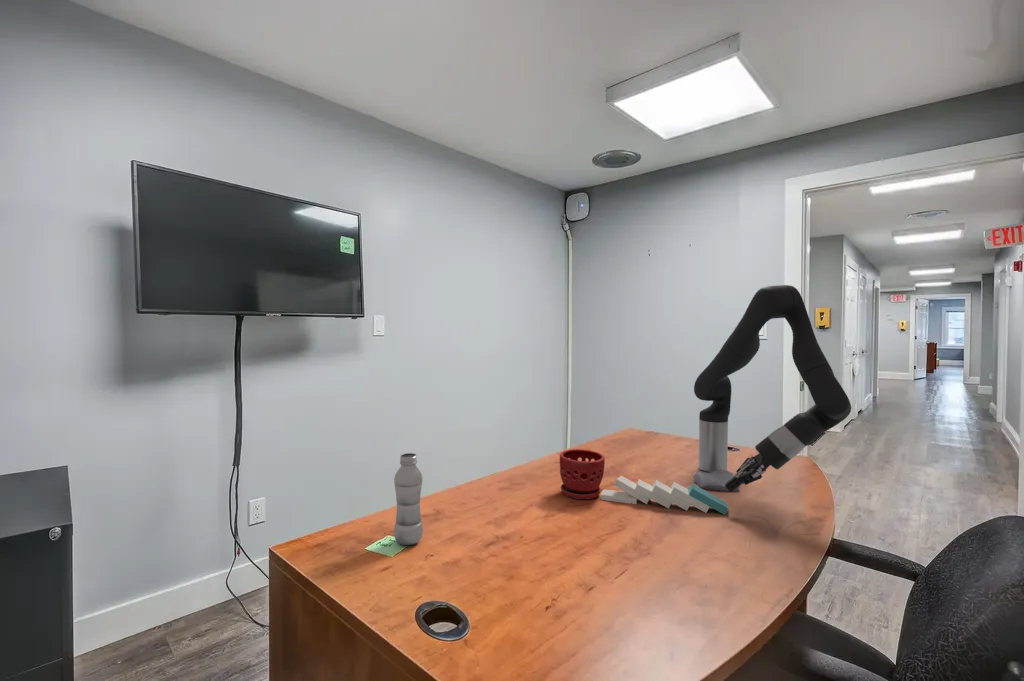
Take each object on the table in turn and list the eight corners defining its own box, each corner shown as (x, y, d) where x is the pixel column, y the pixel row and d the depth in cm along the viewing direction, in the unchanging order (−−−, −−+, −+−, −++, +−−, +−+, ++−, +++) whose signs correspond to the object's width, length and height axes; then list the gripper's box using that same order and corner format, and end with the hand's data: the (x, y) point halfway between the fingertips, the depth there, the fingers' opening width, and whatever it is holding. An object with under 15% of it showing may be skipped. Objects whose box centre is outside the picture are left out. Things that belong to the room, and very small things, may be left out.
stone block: (742, 497, 147) (730, 481, 156) (743, 483, 146) (730, 467, 155) (702, 498, 148) (692, 481, 157) (702, 483, 146) (692, 467, 156)
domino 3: (668, 508, 132) (634, 490, 135) (669, 502, 137) (636, 485, 140) (671, 502, 132) (637, 484, 135) (672, 496, 137) (638, 479, 140)
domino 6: (724, 514, 128) (688, 495, 131) (723, 508, 133) (688, 489, 135) (728, 508, 128) (692, 488, 130) (726, 502, 132) (691, 483, 135)
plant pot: (553, 498, 139) (554, 457, 139) (566, 485, 152) (566, 447, 151) (598, 505, 134) (599, 462, 134) (608, 490, 147) (608, 451, 146)
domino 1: (636, 506, 136) (600, 501, 139) (638, 500, 140) (603, 495, 144) (636, 499, 136) (600, 494, 139) (638, 493, 140) (603, 489, 144)
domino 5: (706, 513, 129) (670, 493, 132) (704, 506, 134) (670, 487, 137) (709, 506, 129) (674, 487, 132) (708, 500, 134) (673, 481, 136)
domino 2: (646, 504, 135) (613, 485, 139) (649, 499, 139) (618, 481, 143) (649, 497, 134) (616, 479, 139) (652, 493, 139) (621, 475, 143)
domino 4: (686, 510, 131) (652, 491, 133) (686, 504, 135) (652, 485, 138) (690, 504, 130) (655, 485, 133) (689, 498, 135) (656, 479, 138)
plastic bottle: (398, 551, 106) (398, 460, 106) (390, 539, 112) (390, 453, 112) (426, 545, 109) (426, 457, 109) (418, 533, 115) (418, 450, 115)
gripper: (764, 430, 133) (715, 470, 137) (773, 441, 120) (718, 485, 124) (786, 451, 131) (735, 491, 135) (797, 465, 118) (741, 508, 123)
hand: (727, 488), depth 130 cm, fingers closed
